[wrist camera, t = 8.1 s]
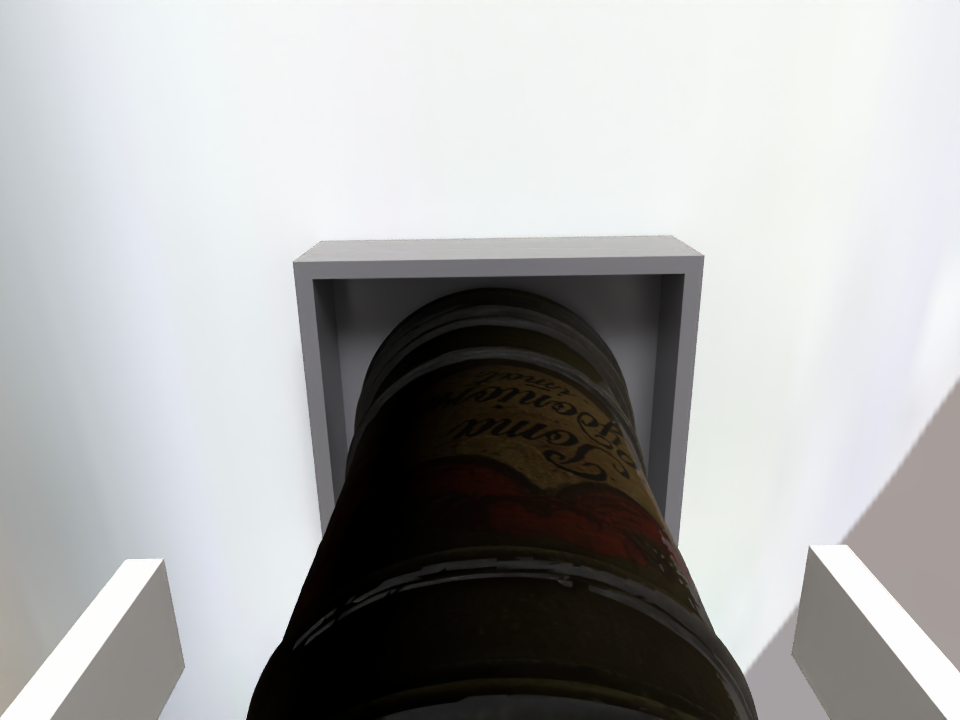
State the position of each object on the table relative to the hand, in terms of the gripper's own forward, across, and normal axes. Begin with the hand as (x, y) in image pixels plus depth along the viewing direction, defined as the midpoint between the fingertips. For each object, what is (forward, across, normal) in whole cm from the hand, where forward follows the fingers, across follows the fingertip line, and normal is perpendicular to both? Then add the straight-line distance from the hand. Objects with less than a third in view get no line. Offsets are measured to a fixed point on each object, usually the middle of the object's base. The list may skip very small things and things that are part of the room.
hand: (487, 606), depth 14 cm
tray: (+11, +1, 0) cm, 11 cm away
